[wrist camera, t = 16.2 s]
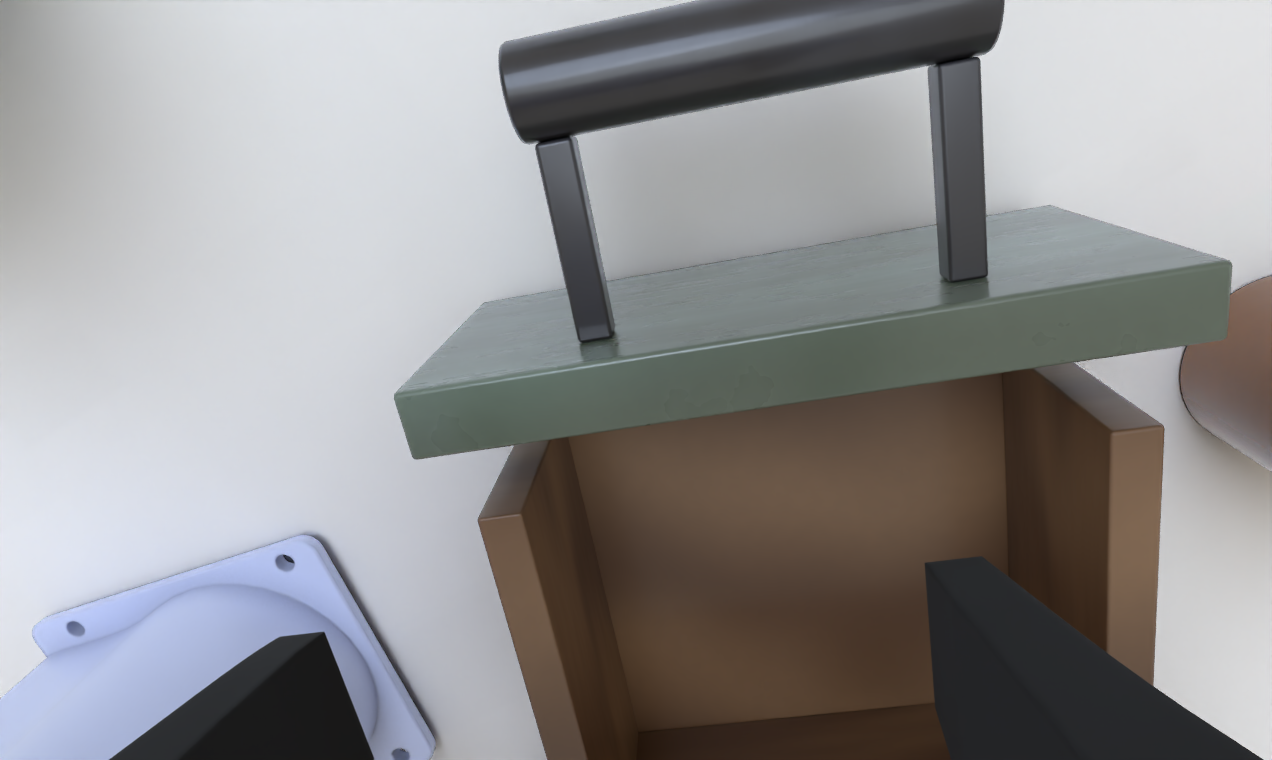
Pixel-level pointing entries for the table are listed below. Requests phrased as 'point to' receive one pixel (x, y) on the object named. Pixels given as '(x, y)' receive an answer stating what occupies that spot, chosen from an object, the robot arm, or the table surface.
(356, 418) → the table surface
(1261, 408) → the glass bottle
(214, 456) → the table surface
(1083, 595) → the rack drawer
